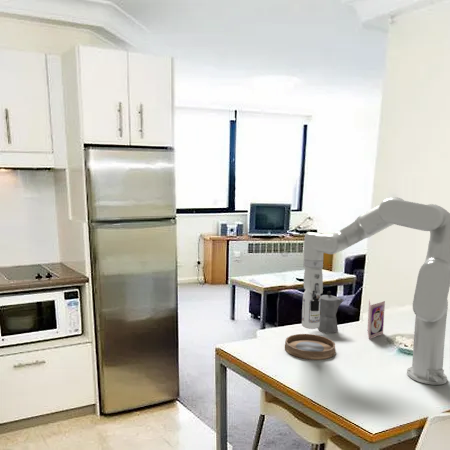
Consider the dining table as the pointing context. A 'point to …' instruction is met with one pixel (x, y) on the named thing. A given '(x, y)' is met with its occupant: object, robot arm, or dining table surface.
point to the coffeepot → (329, 313)
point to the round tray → (310, 346)
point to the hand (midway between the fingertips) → (311, 307)
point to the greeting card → (375, 319)
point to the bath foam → (309, 312)
